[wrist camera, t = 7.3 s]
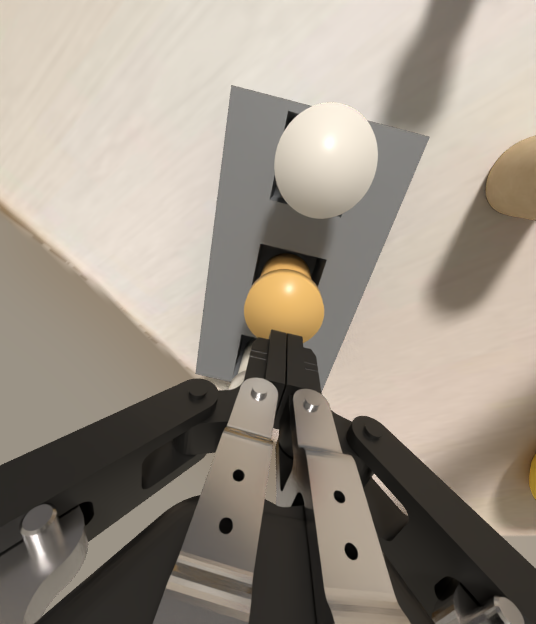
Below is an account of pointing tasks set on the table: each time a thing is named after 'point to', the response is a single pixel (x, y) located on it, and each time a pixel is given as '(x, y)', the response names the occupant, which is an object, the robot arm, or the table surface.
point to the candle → (514, 181)
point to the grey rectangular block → (291, 231)
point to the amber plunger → (284, 299)
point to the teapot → (533, 477)
